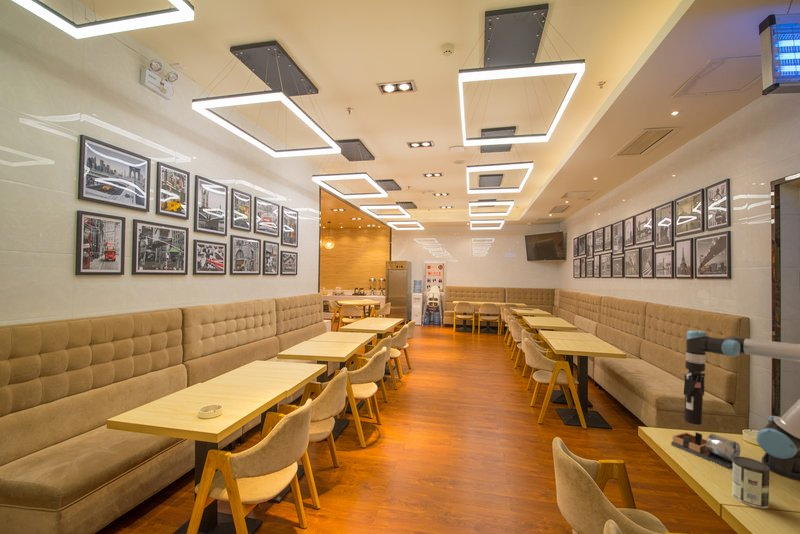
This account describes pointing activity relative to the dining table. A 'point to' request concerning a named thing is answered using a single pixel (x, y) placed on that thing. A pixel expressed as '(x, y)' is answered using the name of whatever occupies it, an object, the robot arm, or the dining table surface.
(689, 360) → the robot arm
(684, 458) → the dining table surface
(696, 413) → the vinegar
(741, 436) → the dining table surface
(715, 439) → the motor mount
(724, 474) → the dining table surface
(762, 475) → the coffee can
